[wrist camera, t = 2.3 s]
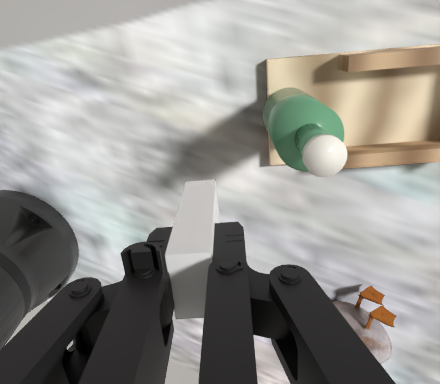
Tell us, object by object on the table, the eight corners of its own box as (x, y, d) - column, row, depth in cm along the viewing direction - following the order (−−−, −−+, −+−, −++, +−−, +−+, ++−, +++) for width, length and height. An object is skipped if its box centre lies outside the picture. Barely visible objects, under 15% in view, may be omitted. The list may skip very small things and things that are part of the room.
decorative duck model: (385, 408, 47) (276, 401, 46) (364, 357, 54) (268, 350, 52) (433, 333, 40) (304, 322, 39) (401, 285, 46) (291, 275, 45)
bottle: (263, 141, 38) (285, 197, 24) (261, 89, 36) (284, 119, 22) (313, 137, 38) (364, 191, 24) (314, 85, 36) (371, 112, 22)
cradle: (269, 161, 40) (276, 181, 34) (266, 59, 36) (274, 62, 30) (466, 146, 39) (508, 165, 33) (488, 39, 35) (540, 39, 29)
